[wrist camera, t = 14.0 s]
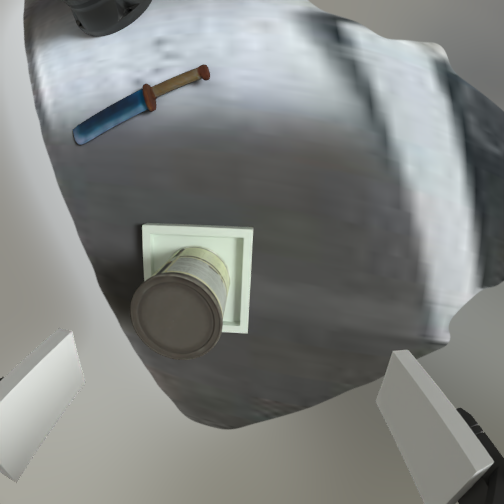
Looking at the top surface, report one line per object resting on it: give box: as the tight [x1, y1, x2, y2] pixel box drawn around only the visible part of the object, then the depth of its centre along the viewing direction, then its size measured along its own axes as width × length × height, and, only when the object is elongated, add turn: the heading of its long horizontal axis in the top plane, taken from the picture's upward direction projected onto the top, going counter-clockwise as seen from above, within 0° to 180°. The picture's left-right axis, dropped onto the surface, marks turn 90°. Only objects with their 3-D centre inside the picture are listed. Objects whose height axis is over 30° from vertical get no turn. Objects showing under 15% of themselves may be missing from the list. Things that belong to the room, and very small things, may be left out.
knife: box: [73, 65, 210, 145], centre depth 36 cm, size 24×3×5 cm
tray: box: [142, 223, 253, 333], centre depth 43 cm, size 16×16×2 cm
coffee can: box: [130, 246, 230, 360], centre depth 36 cm, size 10×10×14 cm
